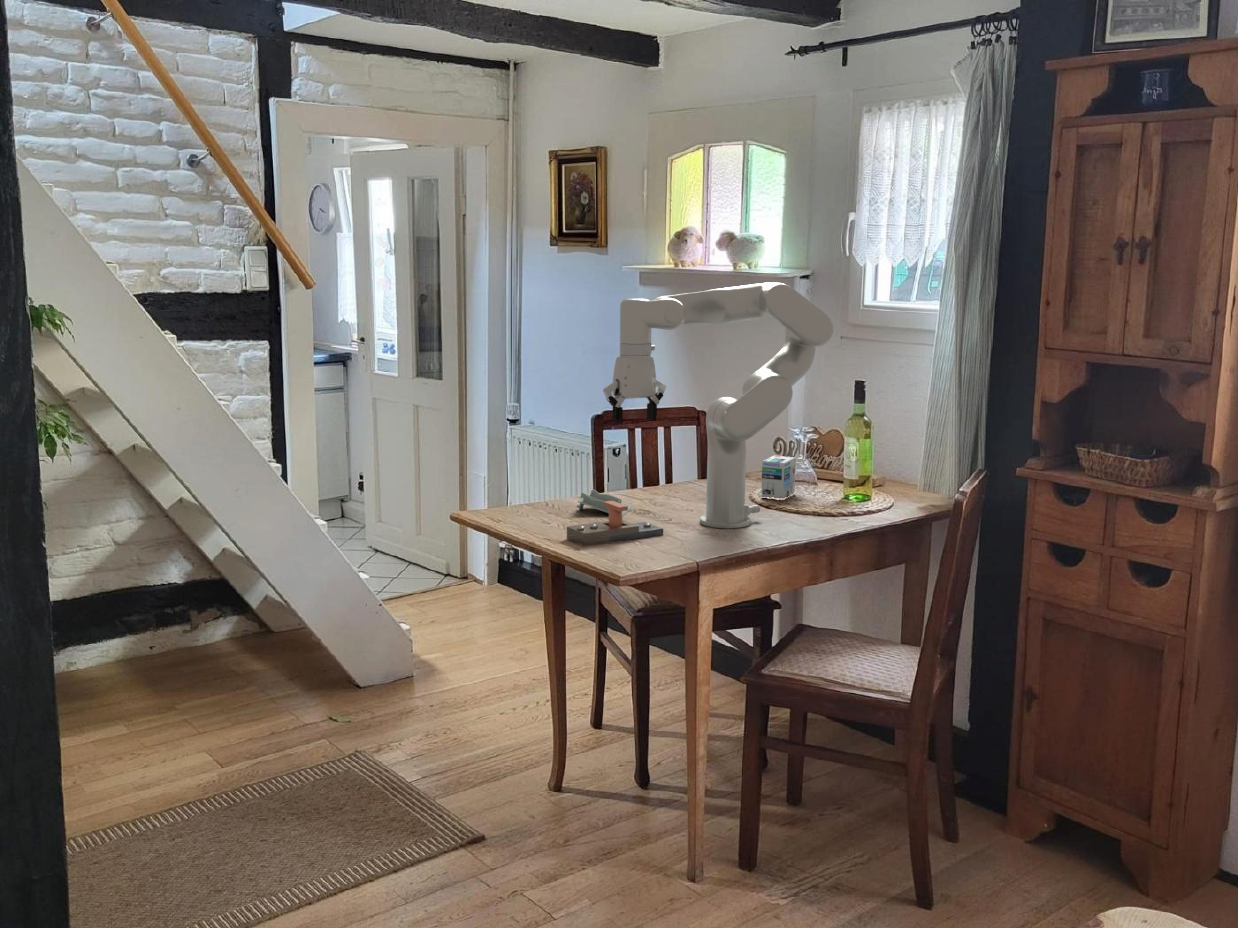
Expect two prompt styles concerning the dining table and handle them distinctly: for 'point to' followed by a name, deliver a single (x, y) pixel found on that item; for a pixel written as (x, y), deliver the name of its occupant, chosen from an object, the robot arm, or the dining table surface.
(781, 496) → the light bulb box
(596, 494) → the metal bracket
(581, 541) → the studded slotted plate
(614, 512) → the orange t-shaped block
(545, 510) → the dining table surface
